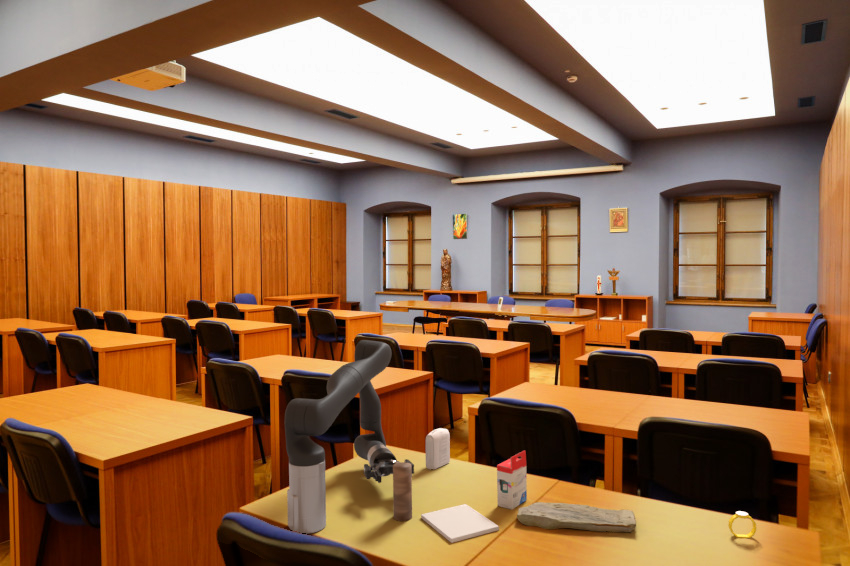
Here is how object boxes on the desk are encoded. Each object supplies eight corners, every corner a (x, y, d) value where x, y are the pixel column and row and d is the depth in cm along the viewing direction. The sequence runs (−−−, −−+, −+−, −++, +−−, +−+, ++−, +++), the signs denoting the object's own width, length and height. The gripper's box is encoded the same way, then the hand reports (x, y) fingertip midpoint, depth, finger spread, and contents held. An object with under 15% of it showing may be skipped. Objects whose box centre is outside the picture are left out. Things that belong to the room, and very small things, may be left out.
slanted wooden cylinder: (398, 522, 151) (397, 469, 150) (390, 515, 155) (389, 464, 155) (415, 518, 153) (414, 466, 153) (407, 511, 157) (406, 461, 157)
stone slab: (518, 498, 159) (632, 501, 153) (519, 512, 159) (632, 517, 153) (516, 516, 147) (639, 520, 141) (517, 532, 147) (640, 537, 141)
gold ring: (732, 540, 140) (730, 515, 140) (727, 534, 142) (726, 511, 142) (758, 539, 139) (756, 515, 139) (753, 534, 141) (751, 510, 141)
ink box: (512, 496, 167) (511, 446, 167) (527, 500, 164) (526, 449, 164) (496, 506, 161) (496, 454, 160) (512, 510, 157) (511, 457, 157)
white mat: (451, 542, 139) (451, 538, 139) (421, 518, 153) (421, 514, 153) (498, 530, 146) (498, 526, 146) (465, 507, 160) (465, 503, 160)
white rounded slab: (441, 460, 200) (441, 424, 200) (451, 462, 197) (451, 426, 197) (423, 468, 192) (423, 431, 191) (434, 471, 189) (433, 433, 189)
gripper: (358, 450, 175) (370, 467, 159) (403, 445, 179) (418, 461, 164) (358, 474, 175) (370, 494, 159) (403, 469, 179) (419, 487, 164)
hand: (395, 477), depth 161 cm, fingers open, 8 cm apart
